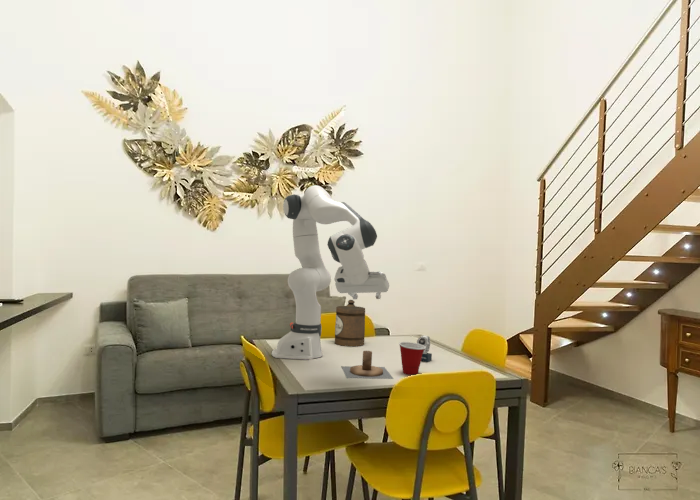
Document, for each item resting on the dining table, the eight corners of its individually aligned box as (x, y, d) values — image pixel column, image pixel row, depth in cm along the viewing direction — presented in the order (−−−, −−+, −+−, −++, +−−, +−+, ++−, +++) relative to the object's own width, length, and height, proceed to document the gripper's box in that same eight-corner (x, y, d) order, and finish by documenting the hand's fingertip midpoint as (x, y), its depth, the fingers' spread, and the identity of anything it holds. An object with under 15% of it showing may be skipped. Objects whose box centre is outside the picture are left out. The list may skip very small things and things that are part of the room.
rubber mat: (346, 379, 202) (346, 378, 202) (341, 367, 220) (341, 366, 220) (393, 379, 204) (393, 378, 204) (384, 367, 222) (384, 367, 222)
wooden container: (335, 340, 277) (337, 297, 277) (364, 341, 277) (366, 299, 276) (333, 345, 262) (335, 300, 262) (363, 347, 262) (366, 302, 261)
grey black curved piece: (414, 360, 238) (415, 336, 238) (421, 357, 245) (422, 333, 244) (425, 363, 235) (427, 338, 235) (433, 359, 242) (434, 335, 241)
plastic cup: (423, 378, 208) (425, 347, 208) (395, 375, 210) (397, 345, 210) (425, 372, 219) (426, 342, 218) (398, 369, 221) (400, 340, 221)
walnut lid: (352, 376, 205) (353, 354, 204) (347, 367, 217) (349, 347, 217) (385, 376, 206) (387, 355, 206) (379, 368, 219) (380, 348, 219)
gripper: (385, 265, 197) (394, 291, 205) (334, 267, 204) (345, 292, 213) (382, 278, 192) (391, 303, 201) (330, 279, 200) (341, 304, 208)
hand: (367, 298), depth 207 cm, fingers open, 8 cm apart
